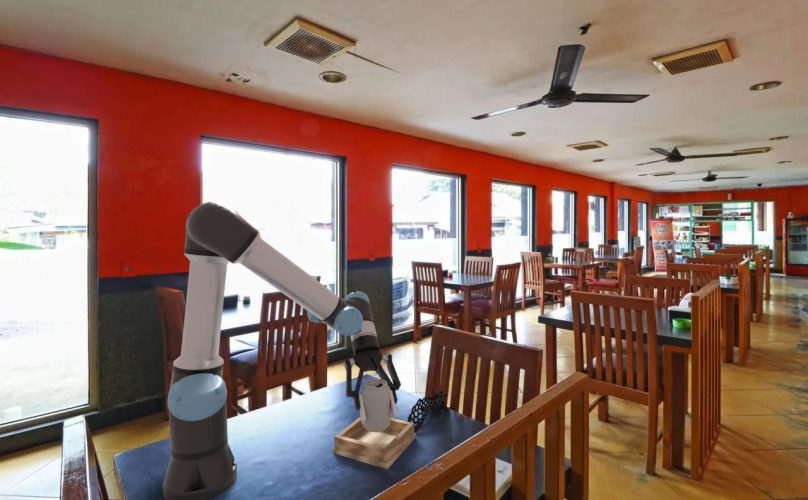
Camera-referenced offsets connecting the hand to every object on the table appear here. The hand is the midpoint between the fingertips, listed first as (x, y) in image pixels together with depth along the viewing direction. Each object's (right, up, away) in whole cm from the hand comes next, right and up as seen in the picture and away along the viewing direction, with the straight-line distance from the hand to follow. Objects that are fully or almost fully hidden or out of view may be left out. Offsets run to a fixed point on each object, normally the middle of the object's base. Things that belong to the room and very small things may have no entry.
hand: (379, 418), depth 104 cm
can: (-1, -4, +4) cm, 5 cm away
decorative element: (+14, -8, +20) cm, 26 cm away
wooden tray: (-1, -9, +4) cm, 9 cm away
